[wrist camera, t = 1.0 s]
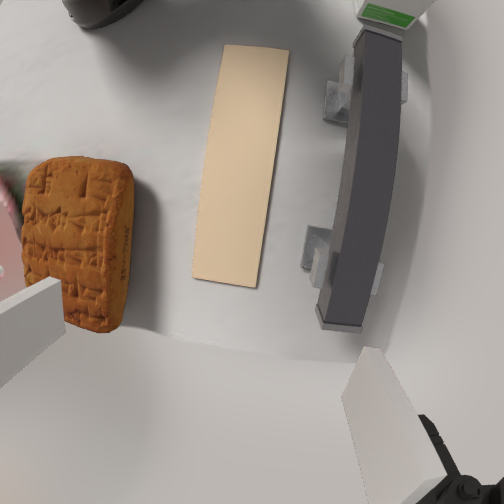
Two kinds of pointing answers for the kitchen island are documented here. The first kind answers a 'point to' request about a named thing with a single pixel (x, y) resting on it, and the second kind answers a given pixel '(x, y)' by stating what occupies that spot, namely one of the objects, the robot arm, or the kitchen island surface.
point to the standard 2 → (347, 92)
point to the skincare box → (392, 11)
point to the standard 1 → (325, 256)
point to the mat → (239, 164)
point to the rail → (364, 181)
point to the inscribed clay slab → (81, 236)
